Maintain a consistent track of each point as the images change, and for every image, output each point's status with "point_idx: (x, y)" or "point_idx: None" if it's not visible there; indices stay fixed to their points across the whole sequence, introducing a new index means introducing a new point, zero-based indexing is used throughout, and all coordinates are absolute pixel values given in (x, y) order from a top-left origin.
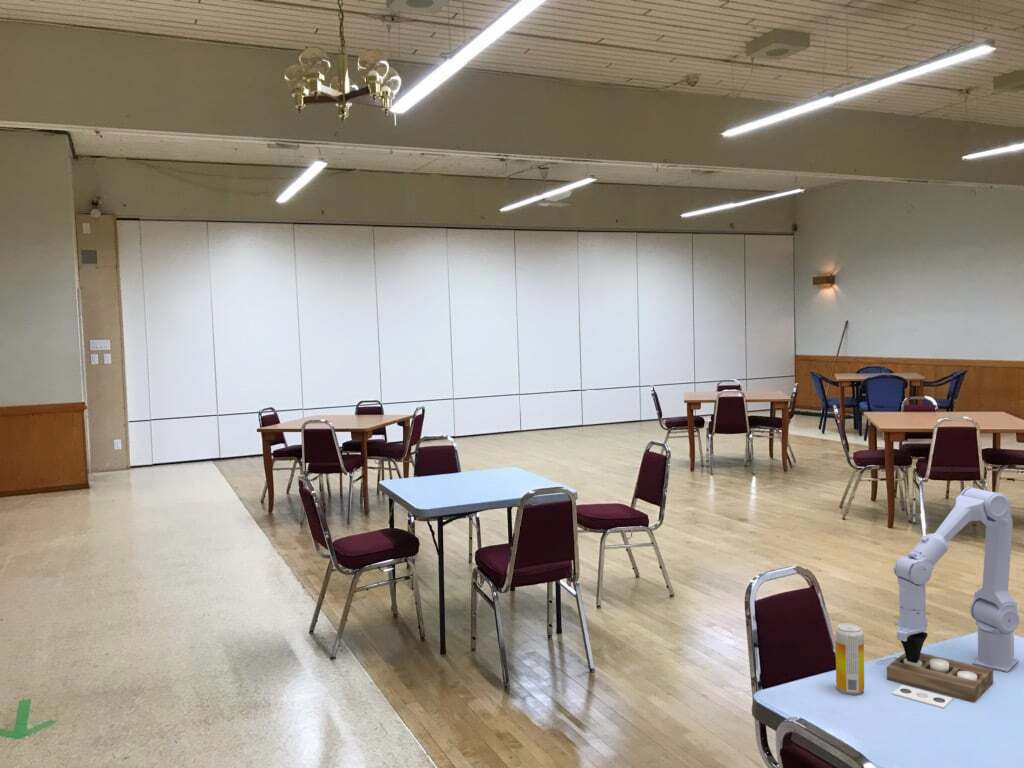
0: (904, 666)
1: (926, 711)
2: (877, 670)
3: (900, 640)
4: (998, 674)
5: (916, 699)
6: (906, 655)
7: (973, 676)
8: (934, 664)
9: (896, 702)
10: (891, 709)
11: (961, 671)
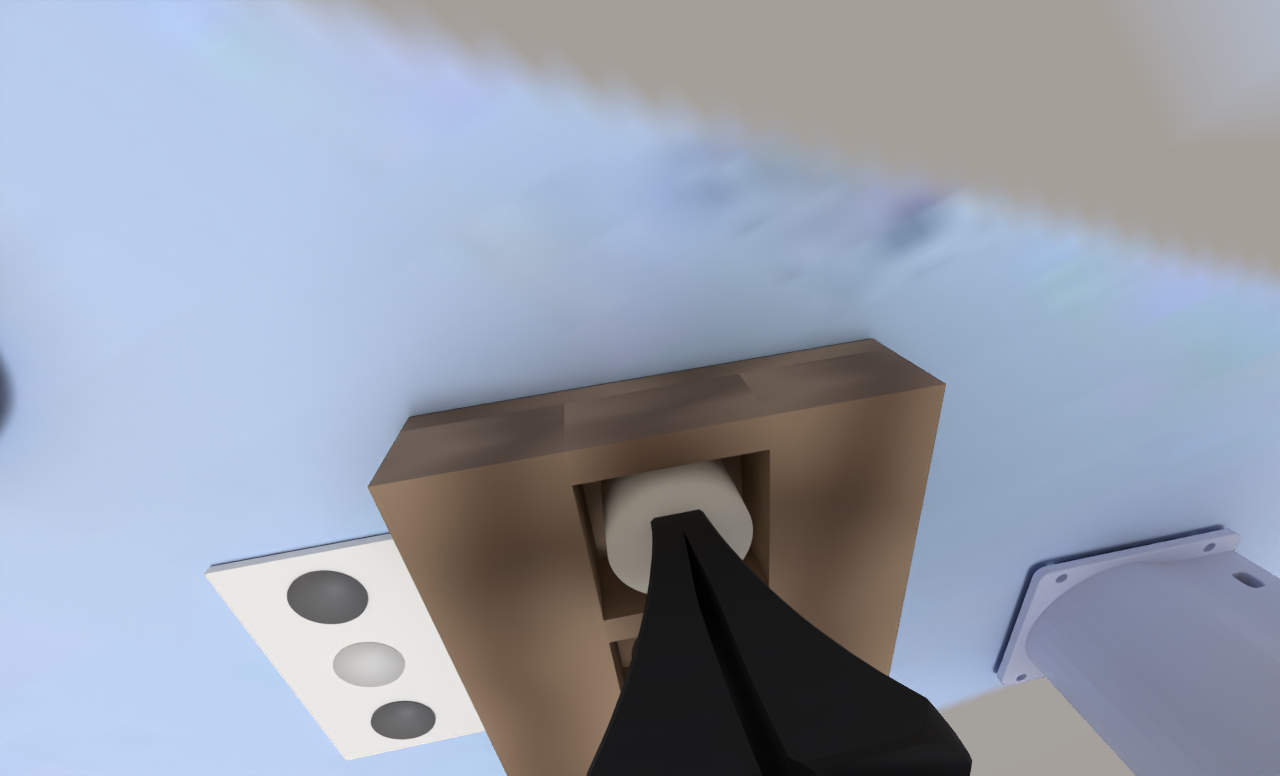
0: (515, 562)
1: (226, 741)
2: (516, 263)
3: (610, 721)
4: (953, 666)
5: (284, 677)
6: (652, 558)
7: None
8: None
9: (135, 634)
10: (8, 669)
11: None
